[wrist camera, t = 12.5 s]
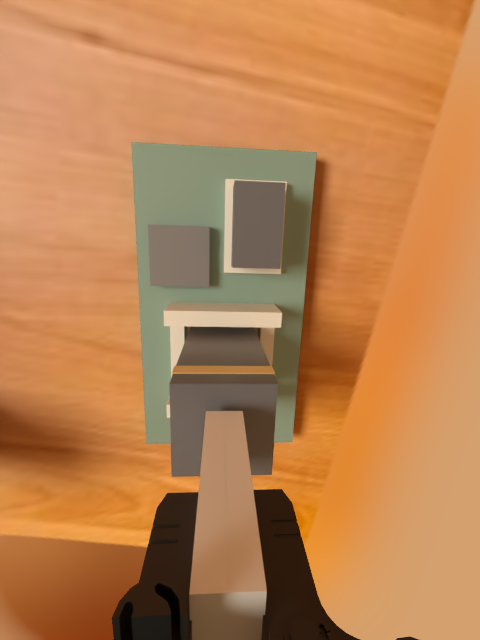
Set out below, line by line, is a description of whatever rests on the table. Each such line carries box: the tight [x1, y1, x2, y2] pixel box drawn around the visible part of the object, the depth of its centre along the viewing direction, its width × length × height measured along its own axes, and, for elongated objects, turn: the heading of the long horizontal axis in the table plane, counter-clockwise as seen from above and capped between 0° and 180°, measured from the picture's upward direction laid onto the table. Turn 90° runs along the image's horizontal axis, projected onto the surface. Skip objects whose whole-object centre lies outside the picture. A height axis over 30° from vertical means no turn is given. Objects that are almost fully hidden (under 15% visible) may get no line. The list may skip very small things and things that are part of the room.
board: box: [131, 142, 317, 444], centre depth 21 cm, size 22×12×4 cm, turn 178°
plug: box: [169, 326, 278, 477], centre depth 18 cm, size 5×5×10 cm
